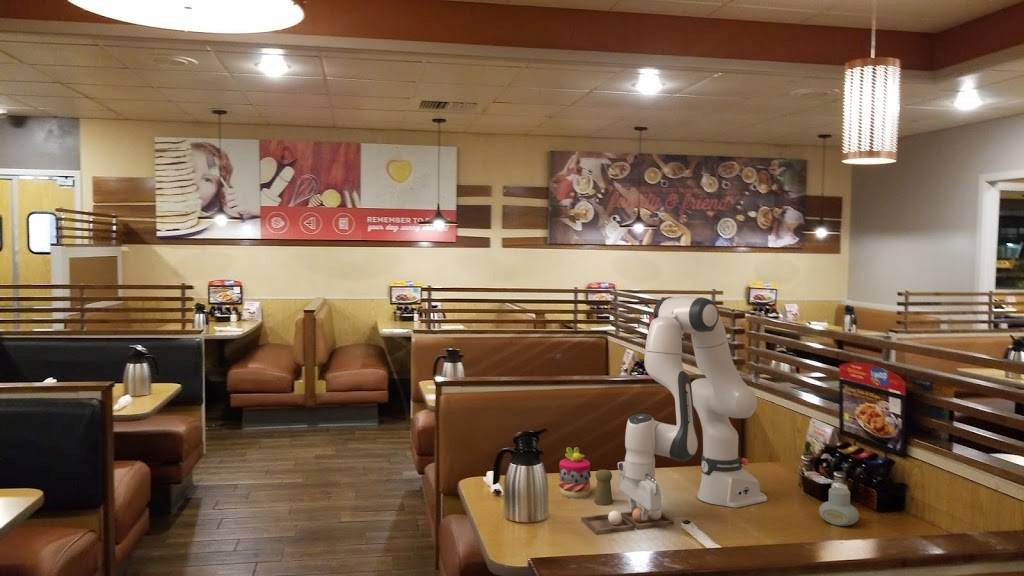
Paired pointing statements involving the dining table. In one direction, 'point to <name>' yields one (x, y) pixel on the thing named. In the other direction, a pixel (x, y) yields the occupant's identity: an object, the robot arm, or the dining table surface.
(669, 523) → the tray
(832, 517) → the air freshener
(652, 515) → the cream ball
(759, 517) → the dining table surface
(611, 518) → the cream ball
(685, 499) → the dining table surface
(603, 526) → the tray
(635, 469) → the robot arm
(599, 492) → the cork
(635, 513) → the ball terracotta
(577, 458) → the cake
